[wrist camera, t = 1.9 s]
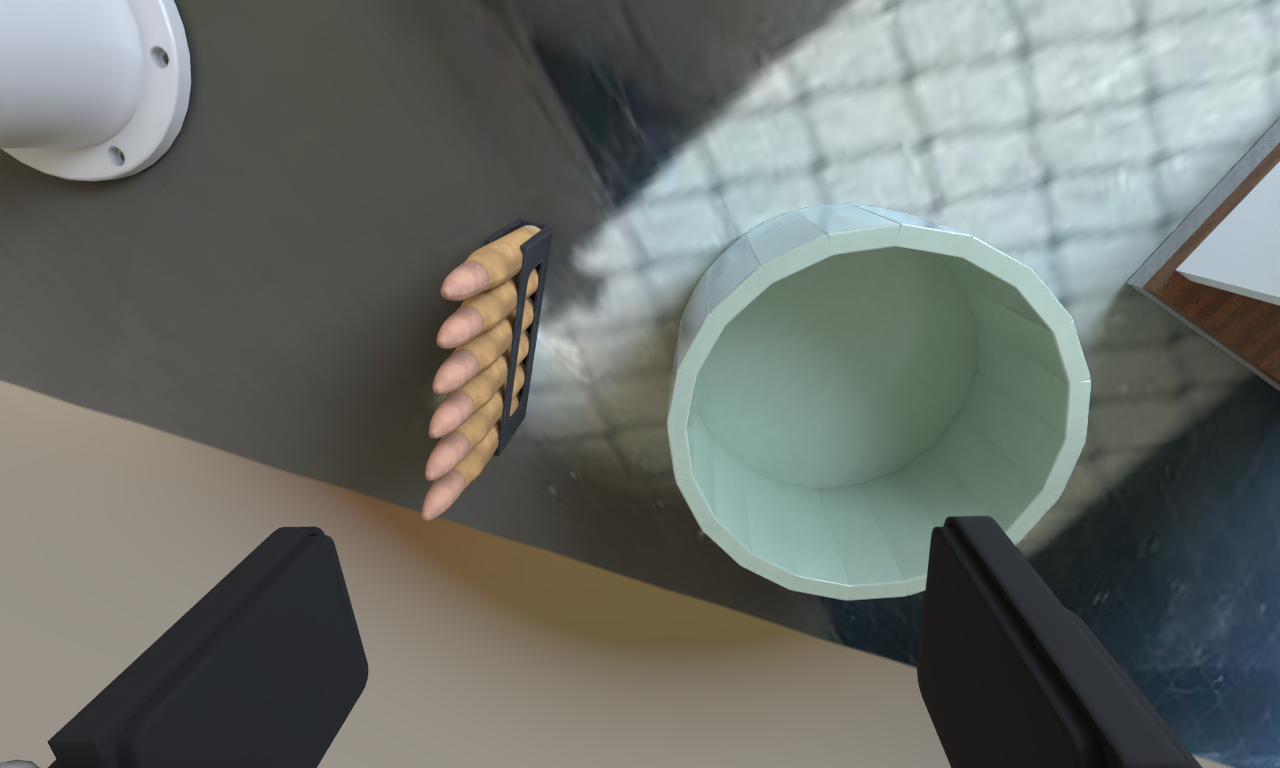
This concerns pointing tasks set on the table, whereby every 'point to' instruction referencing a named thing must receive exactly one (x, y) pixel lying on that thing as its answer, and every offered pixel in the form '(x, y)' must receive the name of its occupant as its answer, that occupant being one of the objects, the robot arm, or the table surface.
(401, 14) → the table surface
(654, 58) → the table surface
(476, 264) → the ammunition clip
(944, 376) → the pale green bowl
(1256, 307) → the architectural tower model
